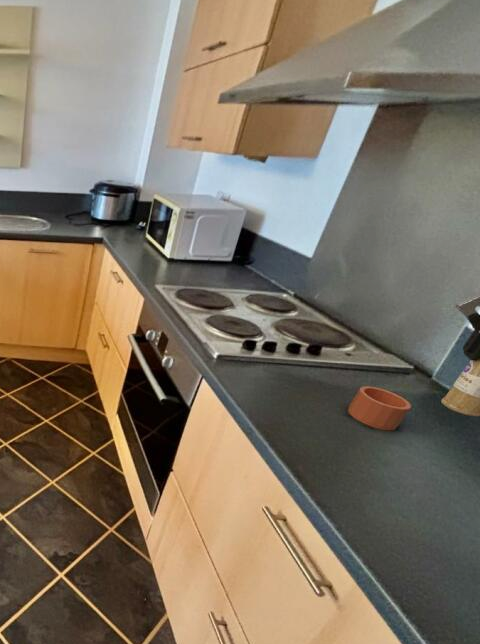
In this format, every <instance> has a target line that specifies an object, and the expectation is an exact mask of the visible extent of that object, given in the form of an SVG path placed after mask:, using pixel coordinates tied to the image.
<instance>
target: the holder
mask: <svg viewBox="0 0 480 644" xmlns="http://www.w3.org/2000/svg"><path fill="white" fill-rule="evenodd" d="M411 408H412V405H411V403H410V402H409V401H408V400H407V399H405V398H403V397H402V396H400V395H399V394H396V393H394V392H392V391H389V390H386V389H383V388H380V387H375V386H369V385H367V386H361V387H360V388H359V389H358V391H357V393H356V394H355V395H354V397H353V399H352V401H351V402H350V404H349V406H348V408H347V412H348V414H349V415H350V416H351V417H353V418H354V419H355V420H357V421H358V422H360V423H362V424H364V425H366V426H369V427H372V428H374V429H378V430H381V431H388V432H389V431H395V430H397V428H398V427H399V425H400V424H401V423H402V421H403V419H404V418H405V417H406V415H407V414H408V413H409V411H410V410H411Z"/></svg>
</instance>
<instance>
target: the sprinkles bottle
mask: <svg viewBox="0 0 480 644" xmlns="http://www.w3.org/2000/svg"><path fill="white" fill-rule="evenodd" d="M441 404H442V405H443V406H445V407H446V408H448V409H450V410H451V411H454V412H456V413H459V414H462V415H466V416H470V417H480V359H479V360H478V361H473V360H470V361H469V363H468V364H467V365H466V366H465V368H464V369H463V371H461V373H460V374H459V376H458V377H457V378H456V380H455V381H454V383H453V385H452V386H451V388H450V389H449V390H448V392H447V393H446V394H445V395H444V397H442V398H441Z"/></svg>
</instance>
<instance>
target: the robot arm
mask: <svg viewBox="0 0 480 644" xmlns="http://www.w3.org/2000/svg"><path fill="white" fill-rule="evenodd" d="M478 307H479V308H480V292H478V293H475V294H473V295H471V296H469V297H466V298H464V299H463V300H461V301H458V302H456V304H455V308H457V310H458V311H459V312H460V313H461V314H463V316H465V317H466V319H467V320H468V322H469V324H470V325H471V327H472V329H473V331H472V332H471V334H470V336H469V337H468V338H467V340H466V341H465V343H464V345H463V346H462V351H463V355H464V356H466V357H467V358H468V360H470V361H471V360H473V361H478V360H479V359H480V313H478V311H477V310H476V308H478Z"/></svg>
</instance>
